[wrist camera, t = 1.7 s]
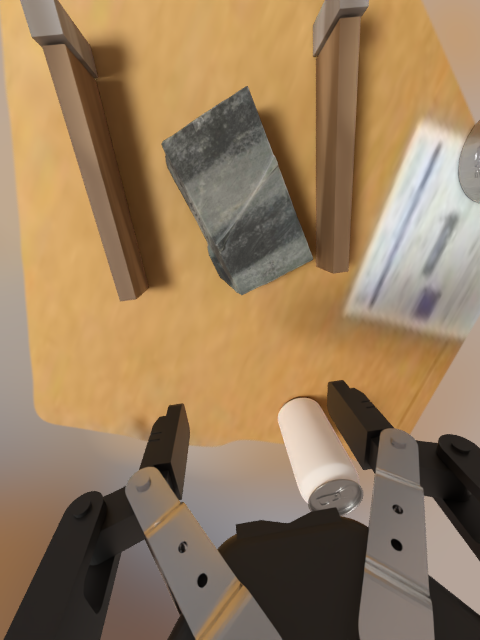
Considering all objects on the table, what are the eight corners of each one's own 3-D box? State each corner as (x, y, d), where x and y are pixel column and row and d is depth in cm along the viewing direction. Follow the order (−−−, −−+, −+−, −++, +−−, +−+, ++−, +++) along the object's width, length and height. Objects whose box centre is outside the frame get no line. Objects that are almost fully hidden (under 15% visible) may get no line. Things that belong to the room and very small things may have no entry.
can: (326, 421, 36) (373, 507, 25) (285, 437, 37) (315, 528, 26) (313, 388, 34) (359, 468, 23) (270, 406, 35) (295, 492, 23)
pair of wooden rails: (336, 22, 21) (370, -37, 16) (330, 264, 28) (353, 271, 23) (65, 48, 20) (17, -7, 15) (133, 290, 27) (115, 303, 22)
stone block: (229, 291, 29) (231, 305, 24) (158, 162, 23) (142, 146, 19) (299, 255, 28) (316, 261, 23) (241, 112, 22) (247, 81, 18)
